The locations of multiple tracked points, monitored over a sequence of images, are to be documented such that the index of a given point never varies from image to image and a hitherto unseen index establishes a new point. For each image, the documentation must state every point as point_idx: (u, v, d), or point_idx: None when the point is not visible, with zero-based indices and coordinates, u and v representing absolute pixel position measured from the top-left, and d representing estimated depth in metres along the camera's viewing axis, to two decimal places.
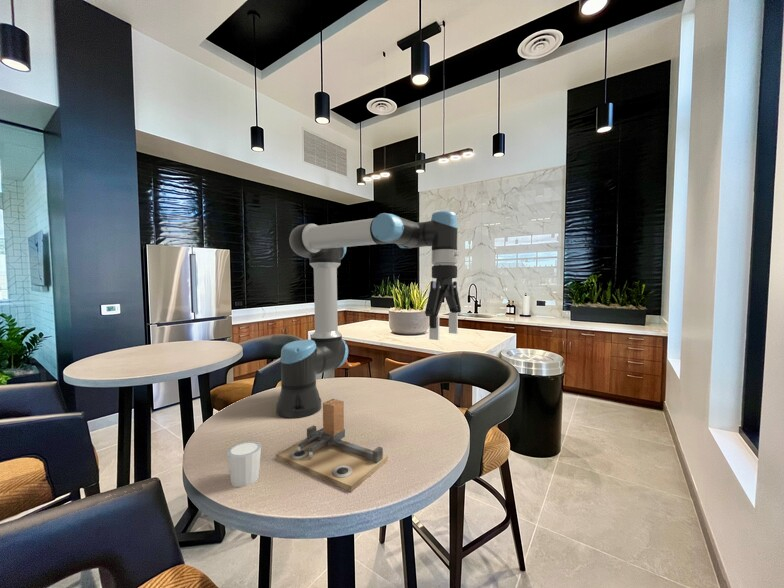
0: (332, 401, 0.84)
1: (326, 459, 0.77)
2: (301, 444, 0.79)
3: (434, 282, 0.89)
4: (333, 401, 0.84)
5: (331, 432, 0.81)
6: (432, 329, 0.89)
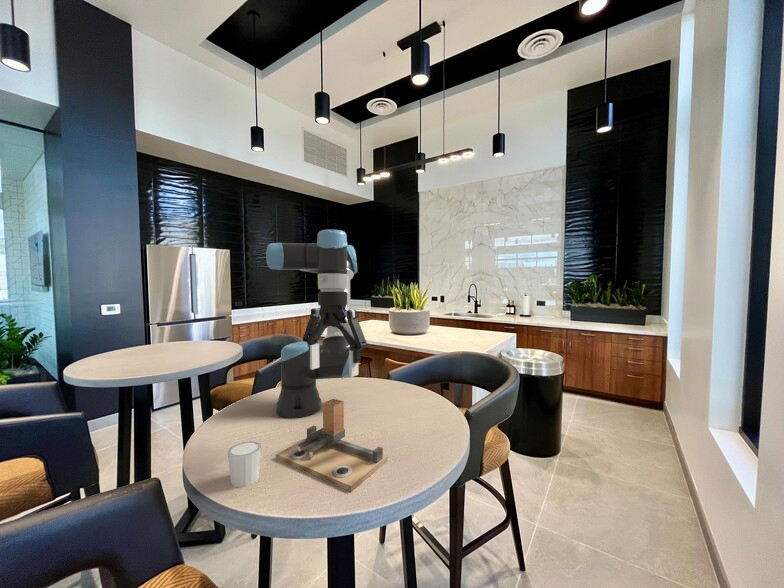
0: (332, 401, 0.84)
1: (326, 459, 0.77)
2: (301, 444, 0.79)
3: None
4: (333, 401, 0.84)
5: (331, 432, 0.81)
6: None
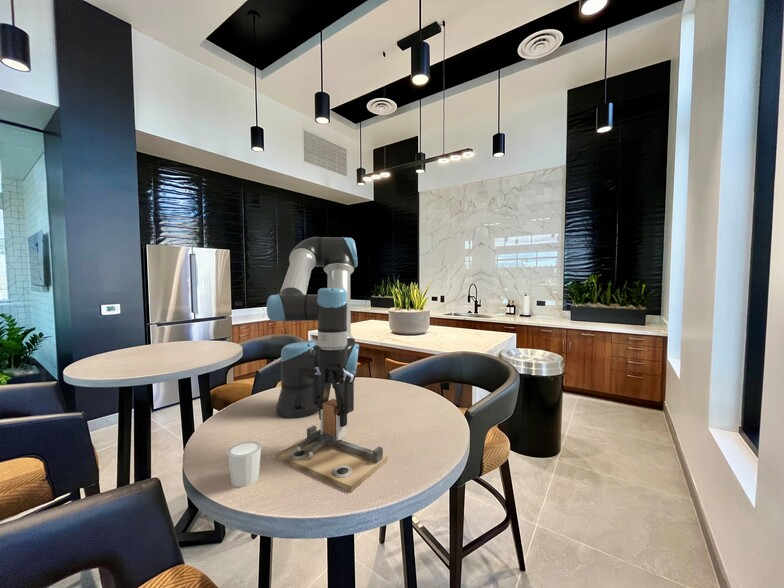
0: (332, 401, 0.84)
1: (326, 459, 0.77)
2: (301, 444, 0.79)
3: None
4: (333, 401, 0.84)
5: (331, 432, 0.81)
6: None
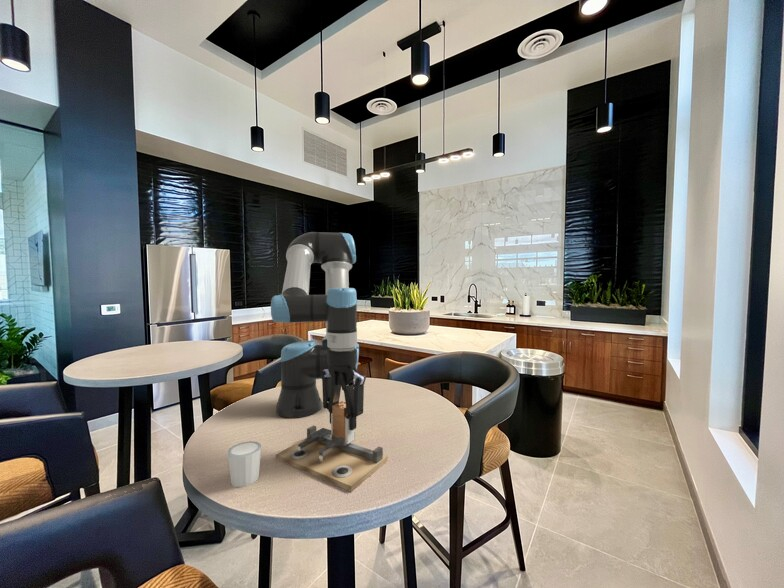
0: (342, 403, 0.82)
1: (326, 459, 0.77)
2: (301, 444, 0.79)
3: None
4: (343, 404, 0.82)
5: (341, 435, 0.79)
6: None
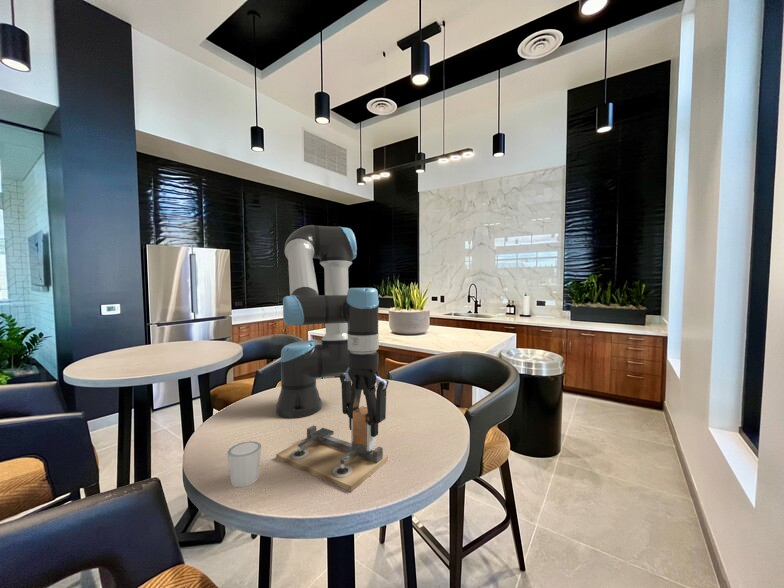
0: (362, 409, 0.78)
1: (326, 459, 0.77)
2: (301, 444, 0.79)
3: None
4: (364, 409, 0.78)
5: (362, 442, 0.76)
6: None
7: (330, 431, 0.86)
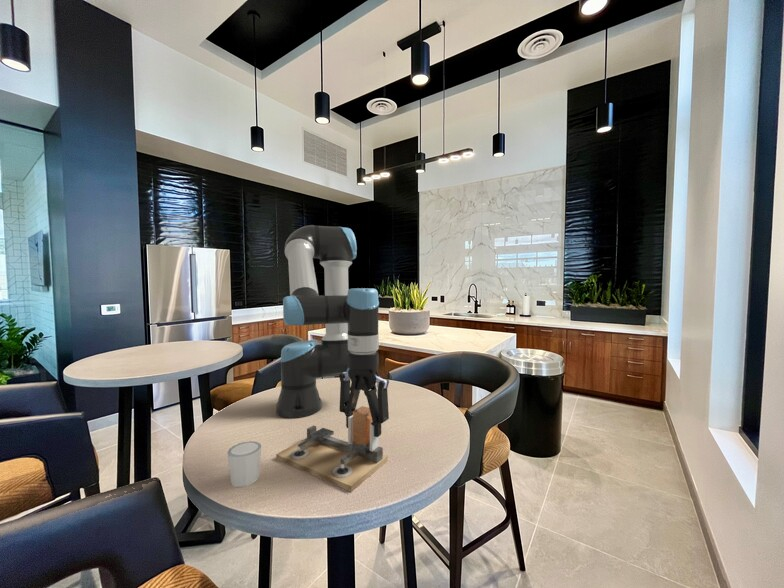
0: (362, 409, 0.78)
1: (326, 459, 0.77)
2: (301, 444, 0.79)
3: None
4: (364, 409, 0.78)
5: (362, 442, 0.76)
6: None
7: (330, 431, 0.86)
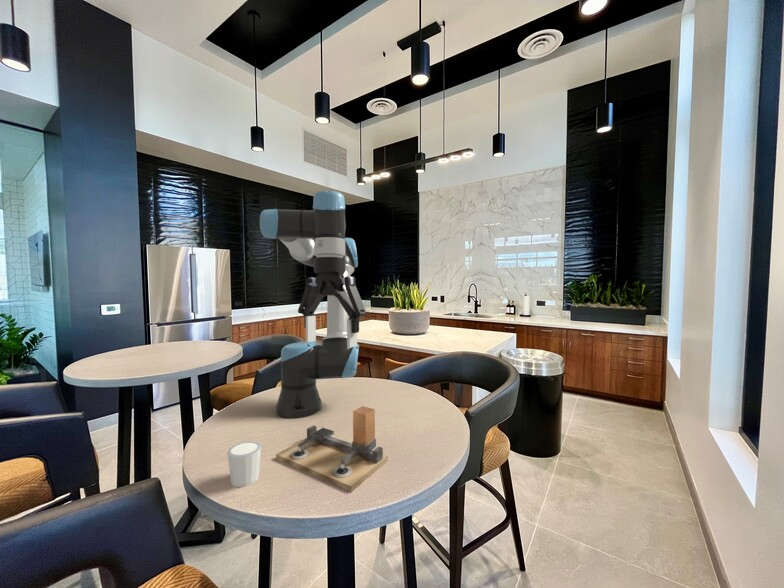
0: (362, 409, 0.78)
1: (326, 459, 0.77)
2: (301, 444, 0.79)
3: None
4: (364, 409, 0.78)
5: (362, 442, 0.76)
6: None
7: (330, 431, 0.86)
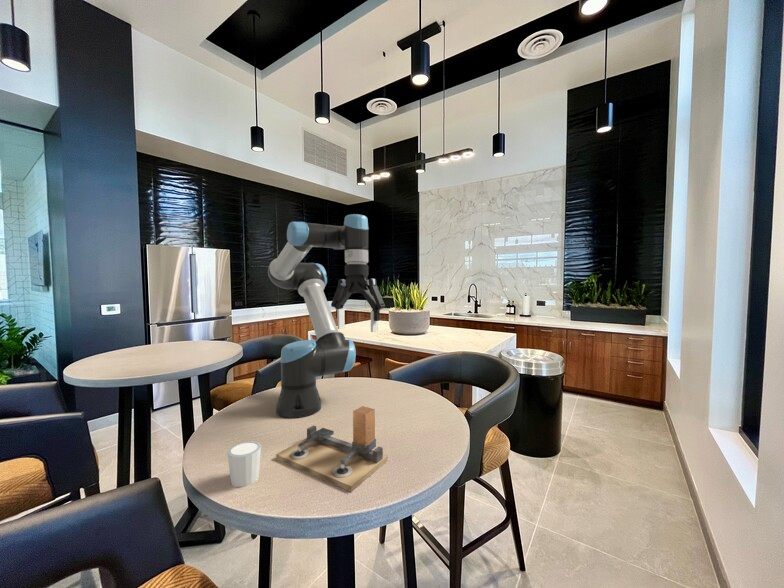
0: (362, 409, 0.78)
1: (326, 459, 0.77)
2: (301, 444, 0.79)
3: None
4: (364, 409, 0.78)
5: (362, 442, 0.76)
6: None
7: (330, 431, 0.86)
